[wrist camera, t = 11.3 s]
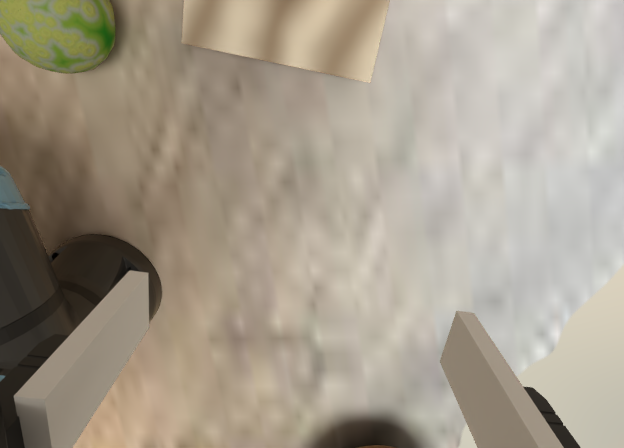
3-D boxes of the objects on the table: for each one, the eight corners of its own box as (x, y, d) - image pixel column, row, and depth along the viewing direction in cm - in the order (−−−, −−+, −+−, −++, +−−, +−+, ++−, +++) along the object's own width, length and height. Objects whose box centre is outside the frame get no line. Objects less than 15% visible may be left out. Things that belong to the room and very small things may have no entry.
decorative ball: (144, 68, 42) (94, 68, 33) (56, 77, 43) (-17, 78, 34) (120, -38, 39) (56, -71, 29) (24, -27, 39) (-67, -57, 30)
